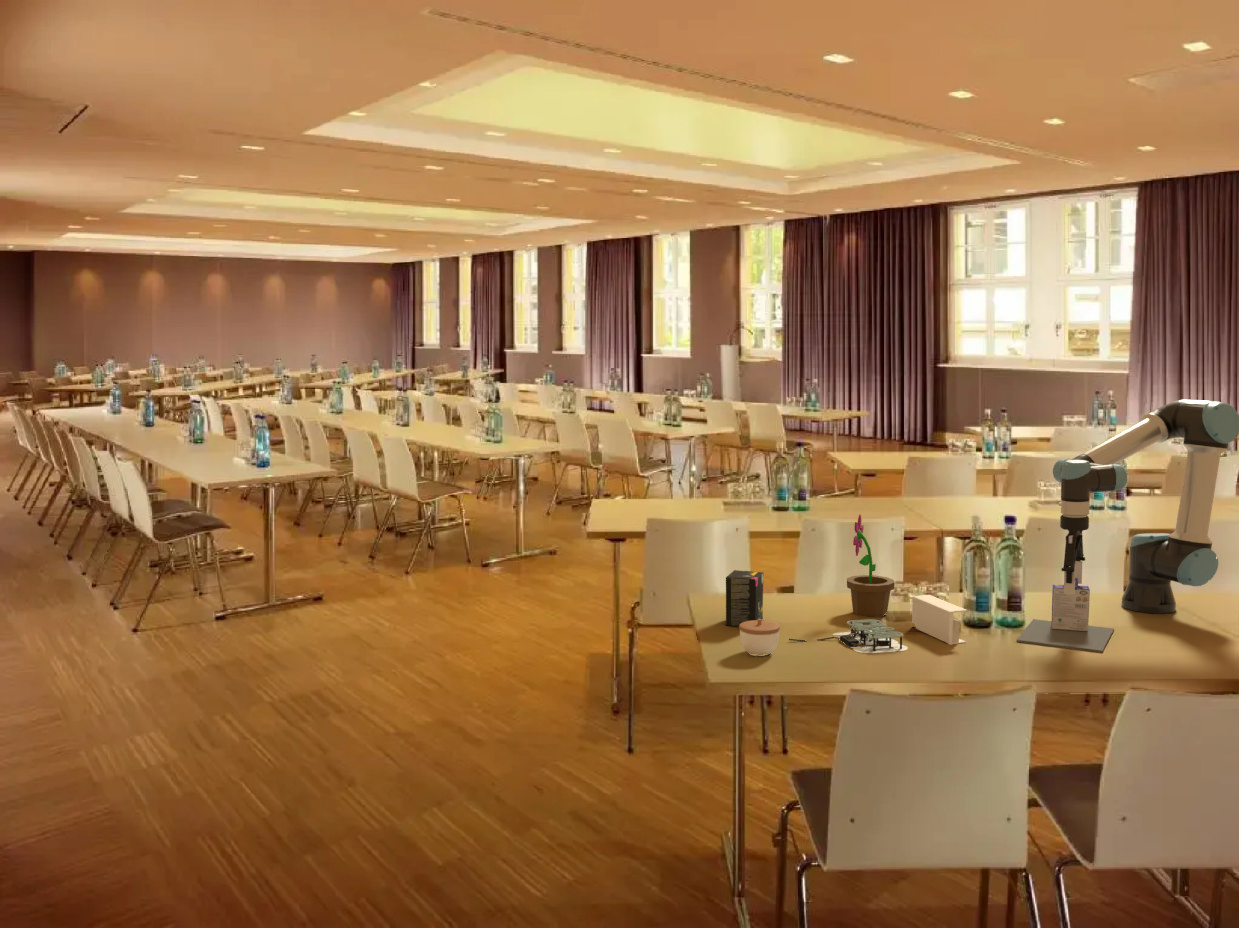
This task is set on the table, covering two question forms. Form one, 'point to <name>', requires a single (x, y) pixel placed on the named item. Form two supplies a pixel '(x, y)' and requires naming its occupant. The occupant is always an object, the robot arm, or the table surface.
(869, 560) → the flowerpot
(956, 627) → the cigarette display
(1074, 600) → the ink cartridge box
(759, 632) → the lidded jar
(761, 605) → the tampon box
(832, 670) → the table surface
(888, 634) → the neon sign
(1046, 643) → the mat
